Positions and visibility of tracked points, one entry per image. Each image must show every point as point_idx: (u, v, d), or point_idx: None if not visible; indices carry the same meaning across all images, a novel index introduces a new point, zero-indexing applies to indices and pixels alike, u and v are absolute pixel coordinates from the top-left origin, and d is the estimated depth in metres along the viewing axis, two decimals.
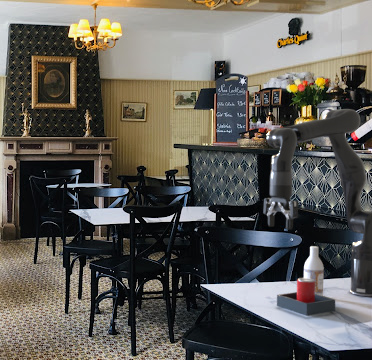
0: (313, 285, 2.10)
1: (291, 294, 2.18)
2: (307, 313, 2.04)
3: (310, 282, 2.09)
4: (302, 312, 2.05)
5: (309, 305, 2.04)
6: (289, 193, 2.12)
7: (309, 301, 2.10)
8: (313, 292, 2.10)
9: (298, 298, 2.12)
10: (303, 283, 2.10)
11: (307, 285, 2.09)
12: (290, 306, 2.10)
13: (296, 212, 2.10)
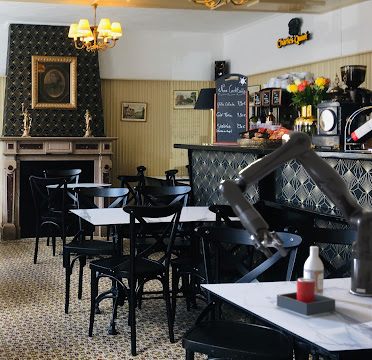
0: (313, 285, 2.10)
1: (291, 294, 2.18)
2: (307, 313, 2.04)
3: (310, 282, 2.09)
4: (302, 312, 2.05)
5: (309, 305, 2.04)
6: (252, 229, 2.25)
7: (309, 301, 2.10)
8: (313, 292, 2.10)
9: (298, 298, 2.12)
10: (303, 283, 2.10)
11: (307, 285, 2.09)
12: (290, 306, 2.10)
13: None
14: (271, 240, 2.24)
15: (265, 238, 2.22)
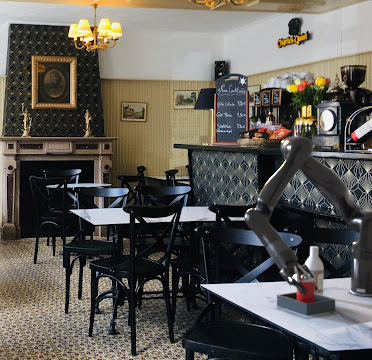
0: (313, 285, 2.10)
1: (291, 294, 2.18)
2: (307, 313, 2.04)
3: (310, 282, 2.09)
4: (302, 312, 2.05)
5: (309, 305, 2.04)
6: (281, 261, 2.16)
7: (309, 301, 2.10)
8: (313, 292, 2.10)
9: (298, 298, 2.12)
10: (303, 283, 2.10)
11: (307, 285, 2.09)
12: (290, 306, 2.10)
13: None
14: (300, 273, 2.14)
15: (295, 271, 2.13)
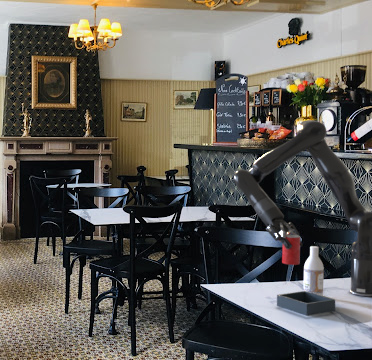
0: (298, 240, 2.18)
1: (291, 294, 2.18)
2: (307, 313, 2.04)
3: (295, 237, 2.18)
4: (302, 312, 2.05)
5: (309, 305, 2.04)
6: (268, 218, 2.24)
7: (294, 255, 2.18)
8: (298, 247, 2.19)
9: (284, 253, 2.20)
10: (288, 238, 2.18)
11: (292, 240, 2.18)
12: (290, 306, 2.10)
13: None
14: (286, 229, 2.23)
15: (281, 227, 2.21)
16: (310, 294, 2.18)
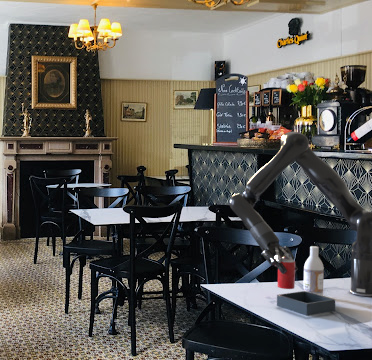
0: (293, 265, 2.22)
1: (291, 294, 2.18)
2: (307, 313, 2.04)
3: (290, 262, 2.21)
4: (302, 312, 2.05)
5: (309, 305, 2.04)
6: (264, 243, 2.28)
7: (289, 280, 2.21)
8: (293, 272, 2.22)
9: (279, 277, 2.24)
10: (284, 263, 2.22)
11: (287, 265, 2.21)
12: (290, 306, 2.10)
13: None
14: (281, 254, 2.26)
15: (276, 252, 2.25)
16: (310, 294, 2.18)
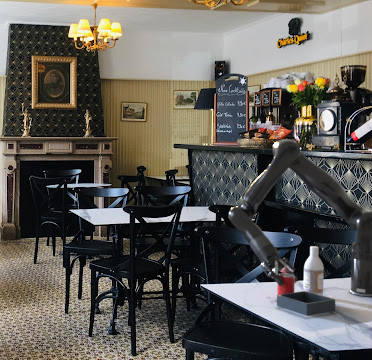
0: (292, 280, 2.22)
1: (291, 294, 2.18)
2: (307, 313, 2.04)
3: (290, 277, 2.22)
4: (302, 312, 2.05)
5: (309, 305, 2.04)
6: (263, 256, 2.28)
7: None
8: (292, 286, 2.22)
9: (278, 292, 2.24)
10: (283, 278, 2.22)
11: (287, 280, 2.22)
12: (290, 306, 2.10)
13: None
14: (282, 267, 2.27)
15: (276, 265, 2.25)
16: (310, 294, 2.18)
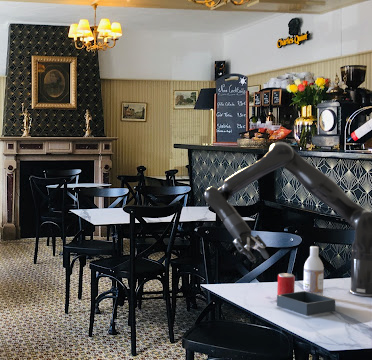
0: (292, 280, 2.22)
1: (291, 294, 2.18)
2: (307, 313, 2.04)
3: (290, 277, 2.22)
4: (302, 312, 2.05)
5: (309, 305, 2.04)
6: (236, 233, 2.38)
7: None
8: (292, 286, 2.22)
9: (278, 292, 2.24)
10: (283, 278, 2.22)
11: (287, 280, 2.22)
12: (290, 306, 2.10)
13: None
14: (254, 243, 2.37)
15: (248, 242, 2.35)
16: (310, 294, 2.18)
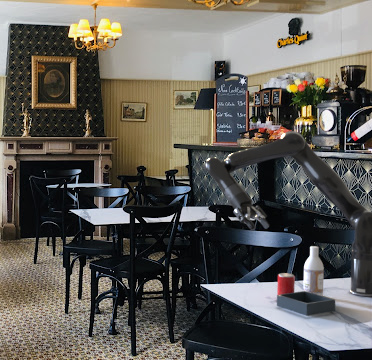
0: (292, 280, 2.22)
1: (291, 294, 2.18)
2: (307, 313, 2.04)
3: (290, 277, 2.22)
4: (302, 312, 2.05)
5: (309, 305, 2.04)
6: (236, 203, 2.37)
7: None
8: (292, 286, 2.22)
9: (278, 292, 2.24)
10: (283, 278, 2.22)
11: (287, 280, 2.22)
12: (290, 306, 2.10)
13: None
14: (254, 213, 2.36)
15: (248, 211, 2.34)
16: (310, 294, 2.18)
